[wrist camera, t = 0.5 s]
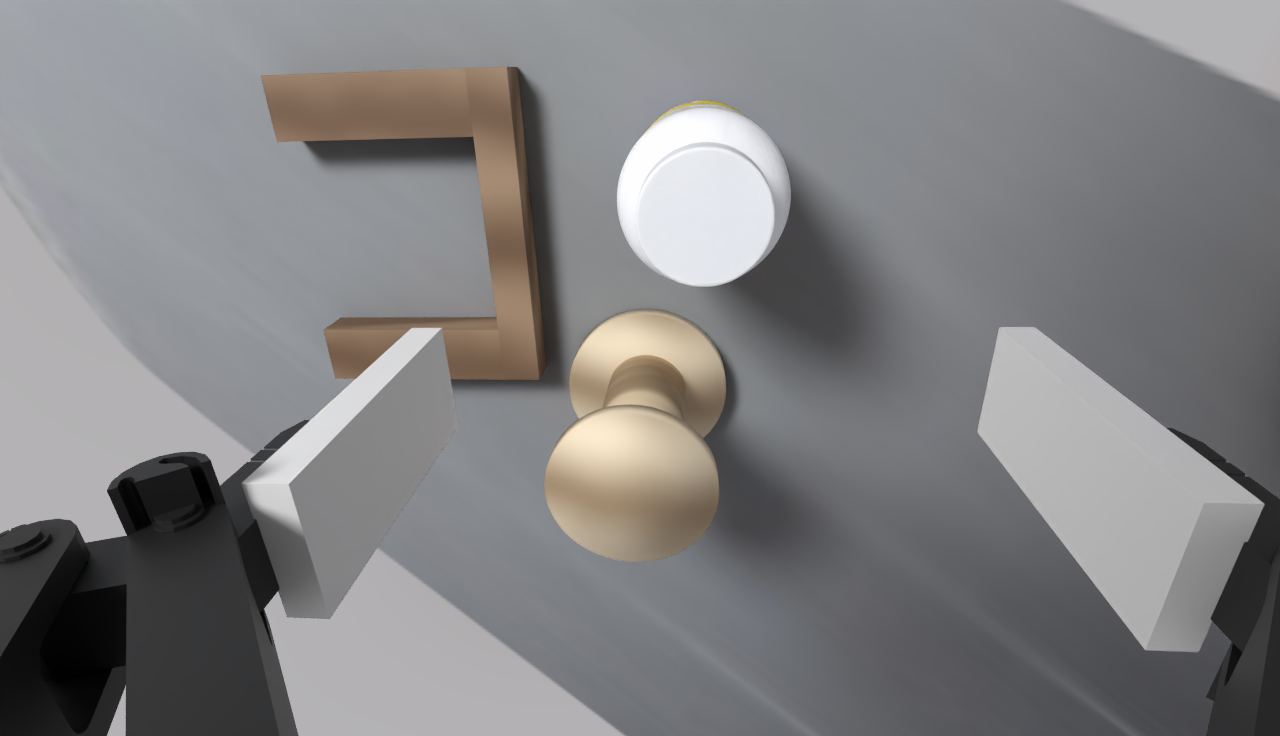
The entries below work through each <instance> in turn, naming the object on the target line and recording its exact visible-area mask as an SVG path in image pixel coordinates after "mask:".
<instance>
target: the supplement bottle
mask: <svg viewBox="0 0 1280 736" xmlns="http://www.w3.org/2000/svg"><path fill="white" fill-rule="evenodd" d="M790 203H791V186H790V178H789V174H788V170H787V167H786V164H785V161H784V159H783V157H782V155H781V153H780V151H779V149H778V147H777V146H776V145H775V143H774V142H773V140H772V139H771V138H770V137H769V136H768V135H767V133H766V132H765V131H764V130H763V129H761V128H760V127H759V126H758V125H757V124H755V123H754V122H753V121H751V120H750V119H749V118H747V117H746V116H745V115H744V114H742V113H741V112H739V111H738V110H736V109H734V108H732V107H730V106H728V105H726V104H722V103H719V102H714V101H707V100H701V101H693V102H688V103H684V104H681V105H678V106H676V107H674V108H672V109H670V110H669V111H667V112H666V113H664V114H663V115H661V116H660V117H659V118H658V119H657V120H656V121H655V122H654V123H653V124H652V125H651V126H650V127H649V129H648V130H647V131H646V132H645V133H644V134H643V135H642V137H641V138H640V139H639V140H638V141H637V143H636V144H635V145H634V147H633V148H632V150H631V151H630V153H629V155H628V157H627V159H626V161H625V163H624V166H623V168H622V171H621V175H620V178H619V183H618V190H617V209H618V216H619V220H620V224H621V227H622V230H623V233H624V235H625V237H626V239H627V241H628V243H629V245H630V246H631V248H632V249H633V251H634V252H635V253H636V255H637V256H638V257H639V258H640V259H641V260H642V261H643V262H644V263H645V264H646V265H647V266H648V267H649V268H651V269H652V270H653V271H655V272H656V273H658V274H660V275H662V276H663V277H666V278H668V279H670V280H673V281H676V282H679V283H682V284H685V285H689V286H697V287H711V286H717V285H721V284H725V283H728V282H731V281H733V280H735V279H737V278H739V277H740V276H742V275H743V274H745V273H747V272H749V271H750V270H752V269H753V268H754V267H756V266H757V265H758V264H759V263H760V262H761V261H763V259H764V258H765V257H766V256H767V255H768V254H769V253H770V252H771V250H772V249H773V248H774V246H775V245H776V243H777V242H778V240H779V238H780V236H781V235H782V232H783V230H784V228H785V225H786V222H787V219H788V215H789V210H790Z"/></svg>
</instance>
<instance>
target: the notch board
mask: <svg viewBox="0 0 1280 736" xmlns="http://www.w3.org/2000/svg"><path fill="white" fill-rule="evenodd" d="M261 79H262V83H263V87H264V91H265V95H266V99H267V104H268V108H269V112H270V116H271V120H272V124H273V128H274V132H275V136H276V140H277V142H289V141H328V140H367V139H406V138H445V137H473V138H474V146H475V154H476V161H477V169H478V177H479V185H480V193H481V200H482V208H483V216H484V224H485V231H486V239H487V247H488V255H489V263H490V270H491V278H492V286H493V294H494V301H495V309H496V317H497V318H340V319H339V320H337V321H336V322H334V323H333V324H331V325H330V326H329V327H327V328H326V329H324V334H325V338H326V342H327V346H328V350H329V354H330V358H331V363H332V367H333V371H334V375H335V378H341V379H356V378H357V377H358V376H360V375H361V374H362V373H363V372H364V371H365V370H366V369H367V368H368V367H369V366H371V365H372V364H373V363H374V362H375V361H376V360H377V359H378V358H379V357H380V356H381V355H383V354H384V353H385V352H386V351H387V350H388V349H389V348H390V347H391V346H392V345H394V344H395V343H396V342H397V341H398V340H399V339H400V338H401V337H402V336H403V335H404V334H406V333H407V332H408V331H409V330H410V329H411V328H442V332H443V338H444V344H445V349H446V355H447V361H448V367H449V373H450V379H490V380H539V379H540V378H541V376H542V374H543V372H544V370H545V368H546V366H547V363H546V353H545V342H544V332H543V322H542V312H541V302H540V291H539V281H538V271H537V261H536V251H535V240H534V230H533V220H532V210H531V200H530V189H529V179H528V169H527V159H526V149H525V139H524V128H523V118H522V108H521V98H520V88H519V77H518V67H494V68H465V69H436V70H407V71H378V72H350V73H321V74H292V75H263V76H261Z"/></svg>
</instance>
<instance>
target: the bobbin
mask: <svg viewBox="0 0 1280 736" xmlns="http://www.w3.org/2000/svg"><path fill="white" fill-rule="evenodd" d="M569 390H570V396H571V401H572V404H573V407H574V410H575V412H576V414H577V416H578V418H579V419H578V420H577V421H575V422H574V423H573V424H572V425H571V426H569V427H568V429H567V430H566V431H565V432H564V433H563V434H562V435H561V437H560V438H559V440H558V441H557V443H556V445H555V448H554V450H553V452H552V455H551V457H550V460H549V463H548V466H547V469H546V474H545V495H546V500H547V503H548V506H549V509H550V511H551V513H552V515H553V517H554V519H555V520H556V522H557V523H558V525H559V526H560V527H561V528H562V529H563V531H564V532H565V533H566V534H567V535H568V536H569V537H571V538H572V539H573V540H574V541H575V542H577V543H578V544H580V545H581V546H583V547H584V548H586V549H588V550H590V551H592V552H594V553H596V554H599V555H601V556H604V557H608V558H611V559H615V560H621V561H630V562H646V561H654V560H659V559H663V558H667V557H669V556H672V555H675V554H677V553H679V552H681V551H683V550H685V549H686V548H688V547H689V546H691V545H692V544H694V543H695V542H696V541H697V540H698V539H699V538H700V537H701V536H702V535H703V534H704V533H705V532H706V531H707V529H708V528H709V526H710V524H711V523H712V521H713V519H714V516H715V514H716V511H717V507H718V502H719V481H718V469H717V465H716V461H715V459H714V456H713V453H712V451H711V450H710V448H709V446H708V444H707V443H706V442H705V440H704V439H703V438H704V437H705V436H706V435H707V434H708V433H709V432H710V431H711V430H712V428H713V427H714V426H715V424H716V423H717V421H718V419H719V418H720V415H721V413H722V410H723V407H724V403H725V398H726V379H725V370H724V365H723V362H722V359H721V356H720V354H719V352H718V350H717V348H716V346H715V345H714V343H713V342H712V340H711V339H710V338H709V337H708V335H707V334H706V333H705V332H704V331H703V330H702V329H700V328H699V327H698V326H697V325H695V324H694V323H692V322H691V321H689V320H688V319H686V318H684V317H681V316H679V315H677V314H674V313H671V312H667V311H662V310H657V309H637V310H631V311H626V312H623V313H620V314H617V315H615V316H612V317H610V318H608V319H606V320H605V321H603V322H602V323H600V324H599V325H598V326H597V327H595V328H594V329H593V330H592V331H591V332H590V333H589V335H588V336H587V337H586V338H585V340H584V341H583V343H582V344H581V346H580V348H579V350H578V352H577V355H576V357H575V359H574V362H573V365H572V368H571V372H570V380H569Z"/></svg>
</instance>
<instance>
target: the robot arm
mask: <svg viewBox="0 0 1280 736" xmlns="http://www.w3.org/2000/svg"><path fill="white" fill-rule="evenodd" d="M457 427H458V420H457V414H456V408H455V403H454V397H453V391H452V385H451V379H450V373H449V367H448V361H447V355H446V349H445V344H444V338H443V332H442V328H411V329H410V330H409V331H408V332H407V333H406V334H404V335H403V336H402V337H401V338H400V339H399V340H398V341H397V342H396V343H395V344H394V345H392V346H391V347H390V348H389V349H388V350H387V351H386V352H385V353H384V354H383V355H381V356H380V357H379V358H378V359H377V360H376V361H375V362H374V363H373V364H372V365H371V366H369V367H368V368H367V369H366V370H365V371H364V372H363V373H362V374H361V375H360V376H358V377H357V378H356V379H355V380H354V381H353V382H352V383H351V384H350V385H349V386H347V387H346V388H345V389H344V390H343V391H342V392H341V393H340V394H339V395H338V396H337V397H335V398H334V399H333V400H332V401H331V402H330V403H329V404H328V405H327V406H326V407H324V408H323V409H322V410H321V411H320V412H319V413H318V414H317V415H316V416H315V417H314V418H312V419H311V420H304V421H302V422H300V423H298V424H296V425H295V426H293V427H291V428H289V429H287V430H285V431H283V432H281V433H280V434H279V435H278V436H276V437H275V438H274V439H273V440H272V441H271V442H270V443H268V444H267V445H266V446H265V447H264V450H260V451H259V452H258V453H257V454H256V455H255V456H254V457H252V458H251V462H247V463H246V464H245V465H243V466H242V467H241V468H240V469H239V470H238V471H237V472H236V473H234V474H233V475H232V476H231V477H230V478H229V479H227V480H226V481H225V482H224V483H223V484H222V485H221V486H220V485H219V483H218V480H217V477H216V475H215V472H214V469H213V466H212V463H211V461H210V459H209V458H208V457H207V456H206V455H205V454H201V453H197V452H180V453H173V454H169V455H164V456H159V457H156V458H153V459H151V460H148V461H145V462H142V463H140V464H138V465H136V466H134V467H132V468H130V469H128V470H126V471H125V472H123V473H121V475H119V476H118V477H117V478H115V479H114V480H113V481H112V482H111V484H110V486H109V487H108V489H107V492H108V494H109V496H110V498H111V501H112V503H113V505H114V507H115V510H116V512H117V514H118V516H119V519H120V521H121V523H122V525H123V528H124V530H125V532H126V534H127V536H123V537H118V538H111V539H105V540H99V541H94V542H88V543H85V542H84V540H83V538H82V536H81V534H80V532H79V530H78V528H77V526H76V525H75V524H74V523H73V522H72V521H70V520H62V519H53V520H45V521H39V522H35V523H31V524H28V525H20V526H17V527H15V528H12V529H11V531H9V530H7V531H5V532H3V533H1V534H0V736H107V734H108V731H109V728H110V725H111V723H112V720H113V718H114V715H115V712H116V709H117V707H118V704H119V701H120V699H121V696H122V693H123V691H124V688H125V685H126V736H298V732H297V729H296V725H295V721H294V717H293V713H292V709H291V705H290V702H289V698H288V694H287V690H286V686H285V682H284V678H283V675H282V671H281V667H280V663H279V659H278V656H277V652H276V648H275V644H274V640H273V636H272V633H271V628H270V625H269V622H268V619H267V616H266V613H265V610H264V608H265V607H266V605H267V604H268V603H269V602H270V600H271V599H272V598H273V596H274V595H275V594H276V593H277V591H278V592H279V594H280V597H281V600H282V603H283V606H284V609H285V612H286V615H287V617H295V618H321V619H330V618H331V616H332V615H333V613H334V612H335V610H336V609H337V607H338V606H339V604H340V603H341V601H342V600H343V598H344V597H345V595H346V594H347V592H348V591H349V589H350V588H351V586H352V585H353V583H354V581H355V580H356V579H357V577H358V576H359V574H360V573H361V571H362V570H363V568H364V567H365V565H366V564H367V562H368V561H369V559H370V558H371V556H372V555H373V553H374V552H375V550H376V549H377V547H378V546H379V544H380V543H381V541H382V540H383V538H384V537H385V535H386V534H387V532H388V531H389V529H390V528H391V526H392V525H393V523H394V522H395V520H396V519H397V517H398V516H399V514H400V513H401V511H402V510H403V508H404V507H405V505H406V504H407V502H408V501H409V499H410V498H411V496H412V495H413V493H414V492H415V490H416V489H417V487H418V486H419V484H420V483H421V481H422V480H423V478H424V477H425V475H426V474H427V472H428V471H429V469H430V468H431V466H432V465H433V463H434V462H435V460H436V459H437V457H438V456H439V454H440V453H441V451H442V450H443V448H444V447H445V445H446V444H447V442H448V441H449V439H450V438H451V436H452V435H453V433H454V432H455V430H456V429H457ZM977 432H978V434H979V435H980V436H981V437H982V439H983V440H984V441H985V443H986V444H987V445H988V447H989V448H990V449H991V450H992V452H993V453H994V454H995V456H996V457H997V458H998V459H999V461H1000V462H1001V463H1002V465H1003V466H1004V467H1005V469H1006V470H1007V471H1008V472H1009V474H1010V475H1011V476H1012V478H1013V479H1014V480H1015V482H1016V483H1017V484H1018V485H1019V487H1020V488H1021V489H1022V491H1023V492H1024V493H1025V495H1026V496H1027V497H1028V498H1029V500H1030V501H1031V502H1032V504H1033V505H1034V506H1035V508H1036V509H1037V510H1038V511H1039V513H1040V514H1041V515H1042V517H1043V518H1044V519H1045V521H1046V522H1047V523H1048V524H1049V526H1050V527H1051V528H1052V530H1053V531H1054V532H1055V534H1056V535H1057V536H1058V537H1059V539H1060V540H1061V541H1062V543H1063V544H1064V545H1065V547H1066V548H1067V549H1068V550H1069V552H1070V553H1071V554H1072V556H1073V557H1074V558H1075V560H1076V561H1077V562H1078V563H1079V565H1080V566H1081V567H1082V569H1083V570H1084V571H1085V572H1086V574H1087V575H1088V576H1089V578H1090V579H1091V580H1092V582H1093V583H1094V584H1095V585H1096V587H1097V588H1098V589H1099V591H1100V592H1101V593H1102V595H1103V596H1104V597H1105V598H1106V600H1107V601H1108V602H1109V604H1110V605H1111V606H1112V608H1113V609H1114V610H1115V611H1116V613H1117V614H1118V615H1119V617H1120V618H1121V619H1122V621H1123V622H1124V623H1125V624H1126V626H1127V627H1128V628H1129V630H1130V631H1131V632H1132V634H1133V635H1134V636H1135V637H1136V639H1137V640H1138V641H1139V643H1140V644H1141V645H1142V647H1143V648H1144V649H1145V650H1152V651H1178V652H1199V650H1200V648H1201V646H1202V644H1203V641H1204V639H1205V637H1206V635H1207V632H1208V630H1209V628H1210V626H1211V623H1212V621H1213V622H1214V623H1215V624H1216V625H1217V626H1218V627H1219V628H1220V630H1221V631H1222V632H1223V633H1224V634H1225V635H1226V636H1227V637H1228V638H1229V639H1230V640H1231V641H1232V643H1231V645H1230V648H1229V650H1228V652H1227V654H1226V656H1225V658H1224V660H1223V662H1222V664H1221V667H1220V669H1219V671H1218V673H1217V675H1216V677H1215V679H1214V681H1213V684H1212V686H1211V688H1210V690H1209V692H1208V694H1207V696H1206V697H1207V698H1209V699H1211V700H1213V701H1214V704H1213V709H1212V713H1211V717H1210V722H1209V726H1208V731H1207V735H1206V736H1280V499H1278V498H1277V497H1276V496H1274V495H1273V494H1272V493H1270V492H1269V491H1268V490H1266V489H1265V488H1264V487H1262V486H1261V485H1259V484H1258V483H1257V482H1255V481H1254V480H1253V479H1251V478H1250V477H1245V473H1243V472H1242V471H1241V470H1239V469H1238V468H1237V467H1235V466H1234V465H1232V464H1231V463H1226V459H1224V458H1223V457H1222V456H1220V455H1219V454H1218V453H1216V452H1215V451H1214V450H1212V449H1211V448H1210V447H1208V446H1207V445H1205V444H1204V443H1203V442H1200V441H1198V440H1196V439H1194V438H1192V437H1190V436H1187V435H1185V434H1183V433H1181V432H1179V431H1177V430H1175V429H1172V428H1165V427H1164V426H1163V425H1161V424H1160V423H1159V422H1157V421H1156V420H1155V419H1154V418H1152V417H1151V416H1150V415H1148V414H1147V413H1146V412H1144V411H1143V410H1142V409H1140V408H1139V407H1138V406H1137V405H1135V404H1134V403H1133V402H1131V401H1130V400H1129V399H1127V398H1126V397H1125V396H1124V395H1122V394H1121V393H1120V392H1118V391H1117V390H1116V389H1114V388H1113V387H1112V386H1111V385H1109V384H1108V383H1107V382H1105V381H1104V380H1103V379H1101V378H1100V377H1099V376H1098V375H1096V374H1095V373H1094V372H1092V371H1091V370H1090V369H1088V368H1087V367H1086V366H1085V365H1083V364H1082V363H1081V362H1079V361H1078V360H1077V359H1075V358H1074V357H1073V356H1071V355H1070V354H1069V353H1068V352H1066V351H1065V350H1064V349H1062V348H1061V347H1060V346H1058V345H1057V344H1056V343H1055V342H1053V341H1052V340H1051V339H1049V338H1048V337H1047V336H1045V335H1044V334H1043V333H1042V332H1040V331H1039V330H1038V329H1036V328H1035V327H999V331H998V336H997V341H996V346H995V350H994V355H993V360H992V365H991V369H990V374H989V379H988V384H987V388H986V393H985V398H984V402H983V407H982V412H981V417H980V421H979V426H978V431H977Z"/></svg>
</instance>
